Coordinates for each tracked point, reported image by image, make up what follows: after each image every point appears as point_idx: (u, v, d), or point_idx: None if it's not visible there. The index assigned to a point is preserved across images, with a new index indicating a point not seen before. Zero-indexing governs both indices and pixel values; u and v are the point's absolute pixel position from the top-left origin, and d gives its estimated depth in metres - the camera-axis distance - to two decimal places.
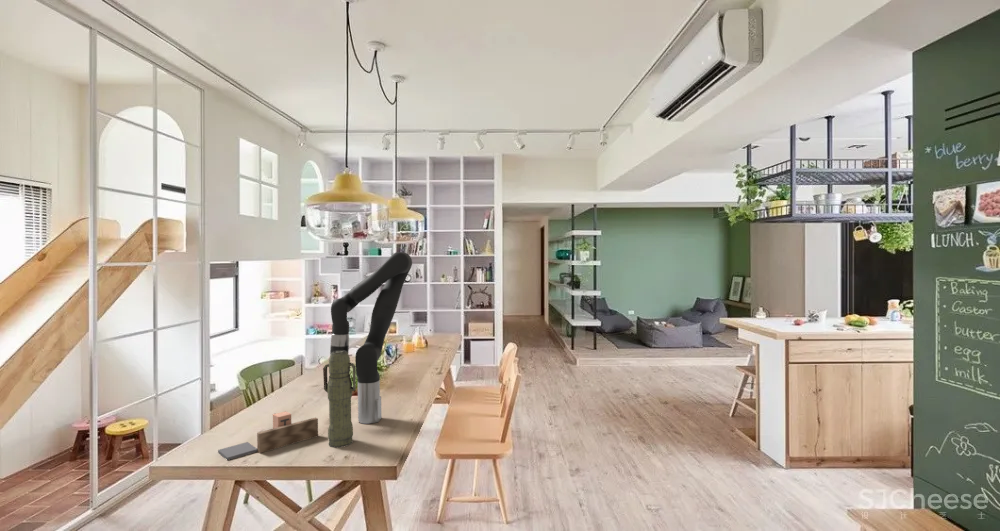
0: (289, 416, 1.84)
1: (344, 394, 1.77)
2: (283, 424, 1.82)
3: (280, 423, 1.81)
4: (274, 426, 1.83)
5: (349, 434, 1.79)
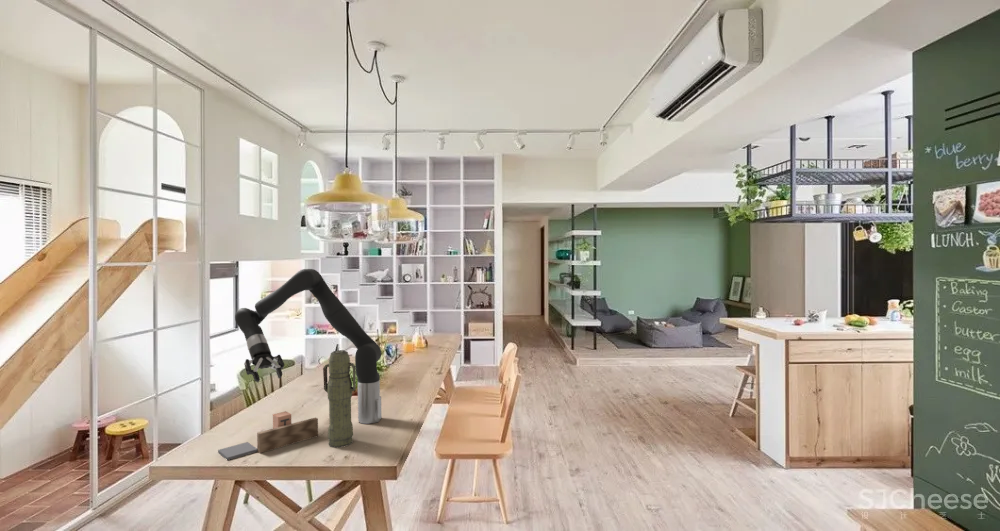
0: (289, 416, 1.84)
1: (344, 394, 1.77)
2: (283, 424, 1.82)
3: (280, 423, 1.81)
4: (274, 426, 1.83)
5: (349, 434, 1.79)
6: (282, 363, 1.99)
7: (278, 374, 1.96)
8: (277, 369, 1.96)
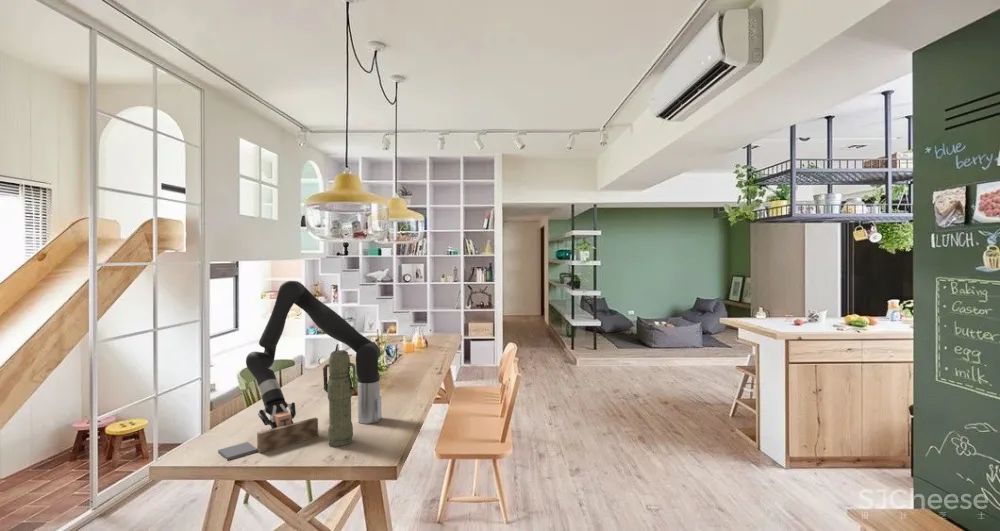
0: (289, 416, 1.84)
1: (344, 394, 1.77)
2: (283, 424, 1.82)
3: (280, 423, 1.81)
4: None
5: (349, 434, 1.79)
6: (294, 412, 1.89)
7: None
8: None
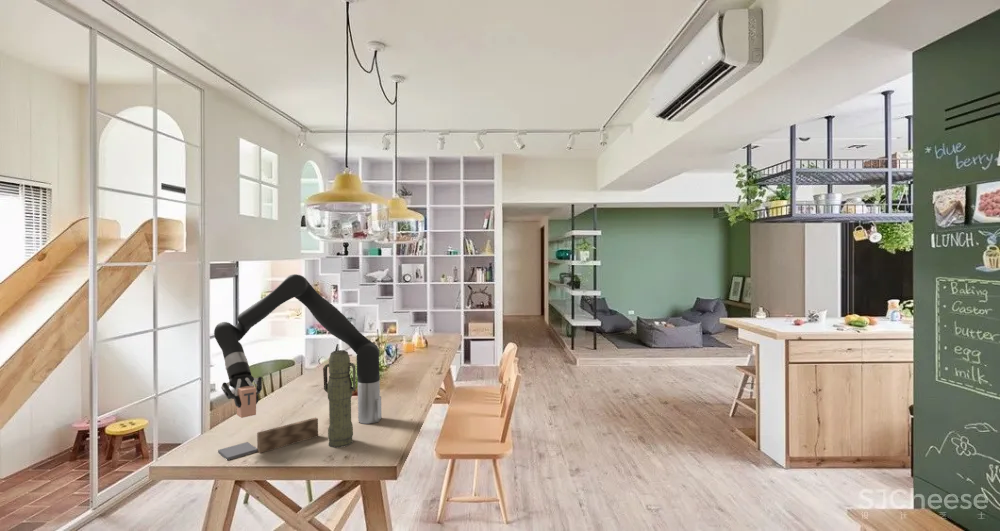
0: (254, 390, 1.75)
1: (344, 394, 1.77)
2: (247, 398, 1.73)
3: (244, 397, 1.73)
4: None
5: (349, 434, 1.79)
6: (260, 387, 1.80)
7: None
8: None
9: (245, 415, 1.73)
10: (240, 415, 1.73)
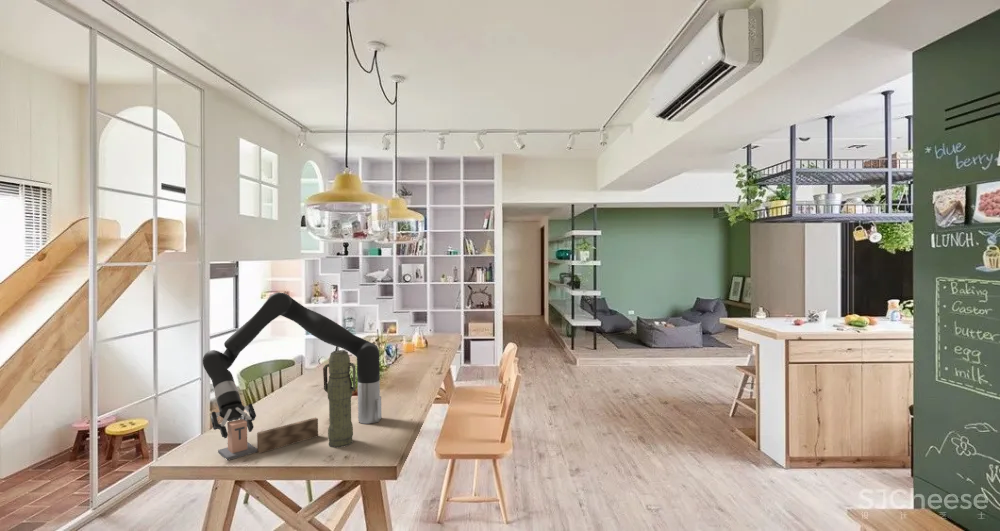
0: (245, 424, 1.72)
1: (344, 394, 1.77)
2: (238, 433, 1.71)
3: (234, 432, 1.70)
4: (228, 435, 1.72)
5: (349, 434, 1.79)
6: (253, 414, 1.78)
7: (248, 427, 1.75)
8: (247, 421, 1.76)
9: (236, 450, 1.70)
10: (231, 450, 1.70)
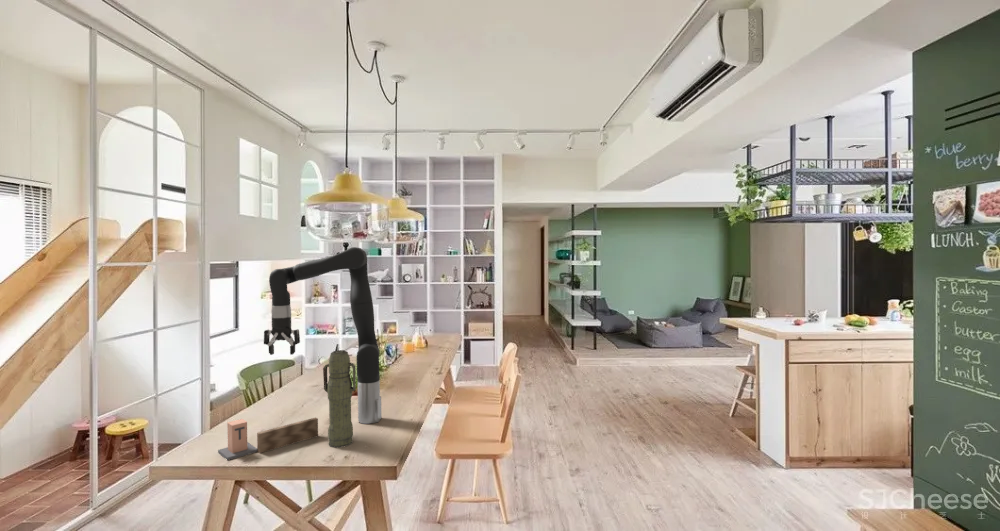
0: (245, 424, 1.72)
1: (344, 394, 1.77)
2: (238, 433, 1.71)
3: (234, 432, 1.70)
4: (228, 435, 1.72)
5: (349, 434, 1.79)
6: (295, 341, 1.99)
7: None
8: (290, 346, 1.99)
9: (236, 450, 1.70)
10: (231, 450, 1.70)
